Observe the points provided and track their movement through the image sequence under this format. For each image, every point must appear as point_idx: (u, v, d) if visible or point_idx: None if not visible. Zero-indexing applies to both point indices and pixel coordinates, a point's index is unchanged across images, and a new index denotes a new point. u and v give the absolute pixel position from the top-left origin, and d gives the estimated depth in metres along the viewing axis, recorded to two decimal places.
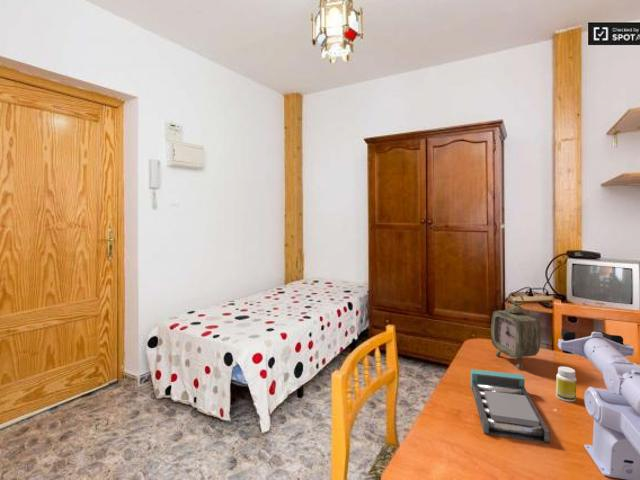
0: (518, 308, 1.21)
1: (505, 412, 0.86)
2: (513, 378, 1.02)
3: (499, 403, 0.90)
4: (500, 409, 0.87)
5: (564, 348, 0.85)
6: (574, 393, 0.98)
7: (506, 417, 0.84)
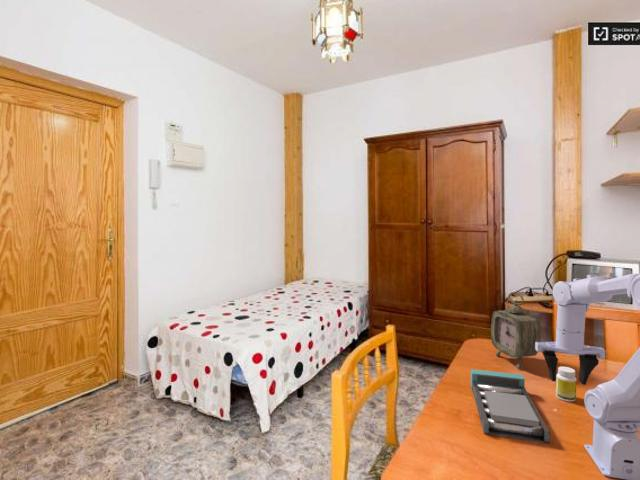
0: (518, 308, 1.21)
1: (505, 412, 0.86)
2: (513, 378, 1.02)
3: (499, 403, 0.90)
4: (500, 409, 0.87)
5: None
6: (574, 393, 0.98)
7: (506, 417, 0.84)
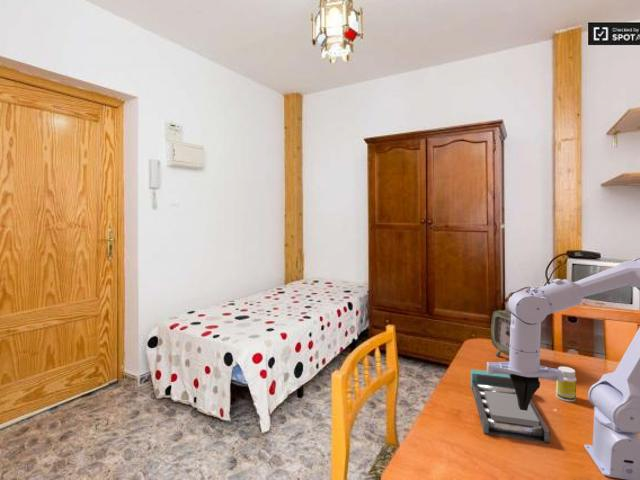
0: None
1: (505, 412, 0.86)
2: None
3: (499, 403, 0.90)
4: (500, 409, 0.87)
5: None
6: (574, 393, 0.98)
7: (506, 417, 0.84)
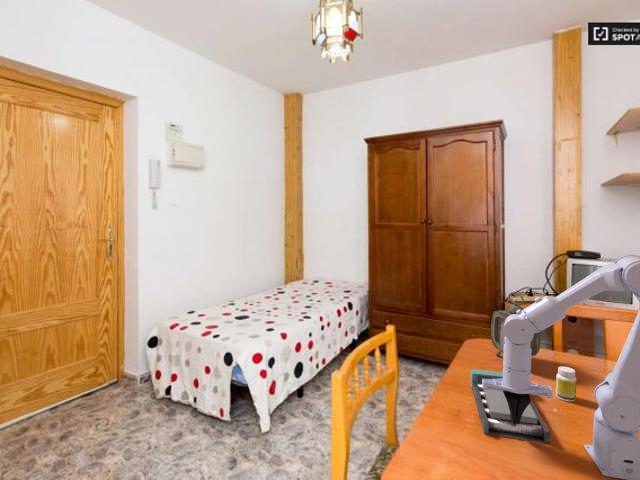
0: (518, 308, 1.21)
1: (504, 409, 0.87)
2: None
3: (498, 401, 0.91)
4: (499, 406, 0.88)
5: None
6: (574, 393, 0.98)
7: (505, 414, 0.85)
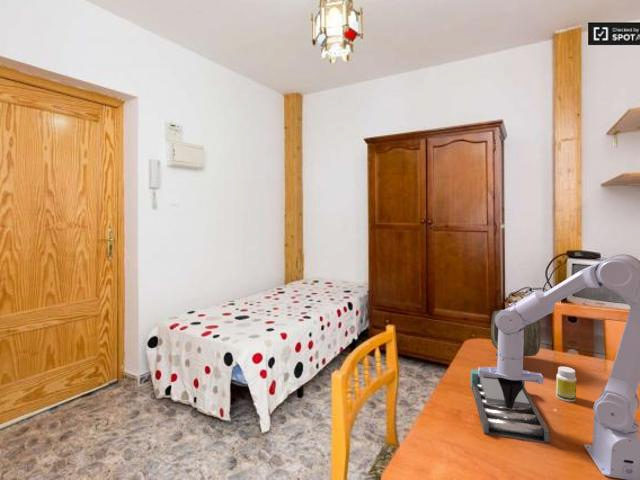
0: None
1: (498, 396, 0.93)
2: None
3: (493, 388, 0.97)
4: (494, 393, 0.95)
5: None
6: (574, 393, 0.98)
7: (499, 400, 0.92)
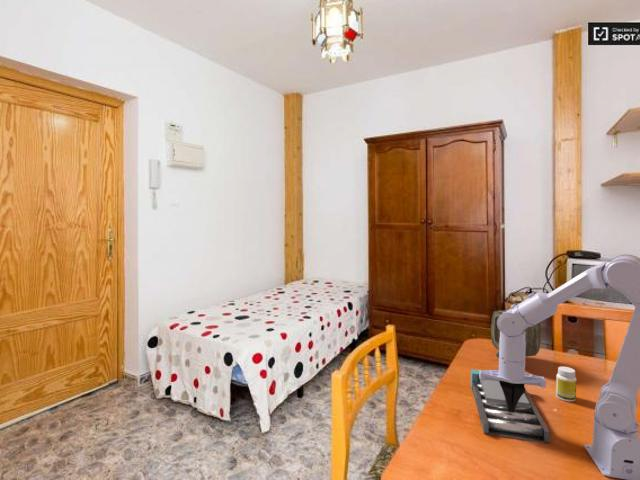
0: None
1: (498, 395, 0.93)
2: None
3: (493, 388, 0.97)
4: (494, 393, 0.95)
5: None
6: (574, 393, 0.98)
7: (499, 400, 0.92)
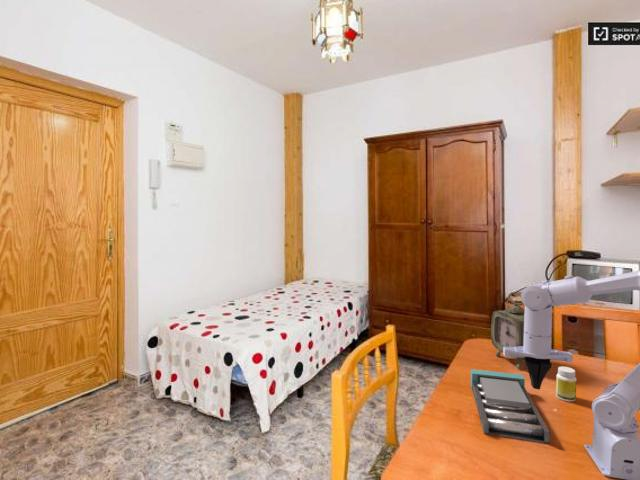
0: (518, 308, 1.21)
1: (498, 395, 0.93)
2: (513, 378, 1.02)
3: (493, 388, 0.97)
4: (494, 393, 0.95)
5: None
6: (574, 393, 0.98)
7: (499, 400, 0.92)
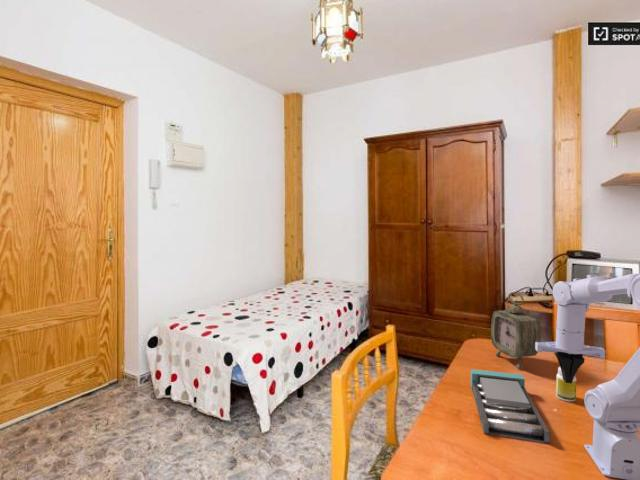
0: (518, 308, 1.21)
1: (498, 395, 0.93)
2: (513, 378, 1.02)
3: (493, 388, 0.97)
4: (494, 393, 0.95)
5: None
6: (574, 393, 0.98)
7: (499, 400, 0.92)
